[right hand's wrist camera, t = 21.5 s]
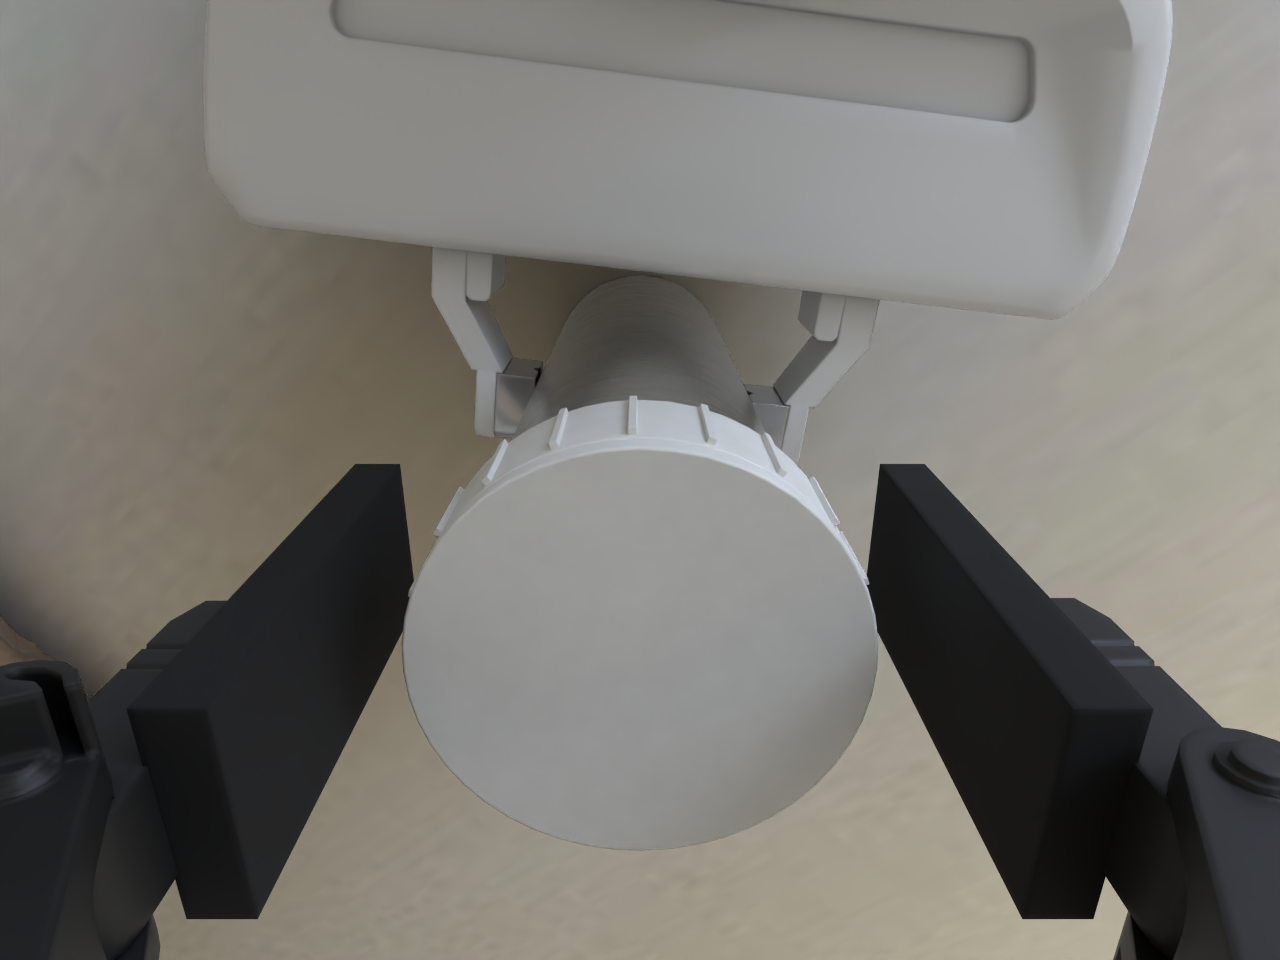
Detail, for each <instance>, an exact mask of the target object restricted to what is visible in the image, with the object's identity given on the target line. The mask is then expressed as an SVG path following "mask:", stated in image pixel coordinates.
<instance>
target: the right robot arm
mask: <svg viewBox="0 0 1280 960" xmlns="http://www.w3.org/2000/svg"><path fill="white" fill-rule="evenodd" d="M867 578H868V581H869V585H866V586H867V588H868V591H869V594H870V598H871V602H872V605H873V609H874V613H875V617H876V626H877V631H878V633H879V635H880V637H881V639H882V641H883V643H884V645H885V647H886V649H887V651H888V653H889V655H890V657H891V659H892V661H893V663H894V665H895V667H896V669H897V671H898V673H899V675H900V677H901V679H902V681H903V683H904V685H905V687H906V689H907V691H908V693H909V695H910V697H911V699H912V701H913V703H914V705H915V707H916V709H917V711H918V713H919V715H920V717H921V719H922V721H923V723H924V725H925V727H926V729H927V731H928V733H929V735H930V737H931V739H932V740H933V742H934V744H935V746H936V748H937V750H938V752H939V754H940V756H941V758H942V760H943V762H944V764H945V766H946V768H947V770H948V772H949V774H950V776H951V778H952V780H953V782H954V784H955V786H956V788H957V790H958V792H959V794H960V796H961V798H962V800H963V802H964V804H965V806H966V808H967V810H968V812H969V814H970V816H971V818H972V820H973V822H974V824H975V826H976V828H977V830H978V832H979V834H980V836H981V838H982V840H983V842H984V844H985V846H986V848H987V850H988V852H989V854H990V856H991V858H992V860H993V861H994V863H995V865H996V867H997V869H998V871H999V873H1000V875H1001V877H1002V879H1003V881H1004V883H1005V885H1006V887H1007V889H1008V891H1009V893H1010V895H1011V897H1012V899H1013V901H1014V903H1015V905H1016V907H1017V909H1018V911H1019V913H1020V915H1021V917H1022V919H1093V918H1094V915H1095V911H1096V908H1097V905H1098V901H1099V898H1100V894H1101V891H1102V887H1103V884H1104V880H1105V877H1107V879H1108V880H1109V882H1110V883H1111V885H1112V887H1113V888H1114V890H1115V891H1116V893H1117V894H1118V896H1119V897H1120V899H1121V900H1122V902H1123V903H1124V905H1125V907H1126V908H1127V910H1128V913H1127V917H1126V920H1125V923H1124V926H1123V930H1122V933H1121V936H1120V939H1119V942H1118V946H1117V949H1116V952H1115V955H1114V959H1113V960H1280V742H1279V741H1277V740H1274V739H1270V738H1267V737H1264V736H1261V735H1258V734H1255V733H1251V732H1248V731H1245V730H1237V729H1230V728H1222V727H1221V726H1220V725H1219V724H1218V723H1217V722H1216V721H1215V720H1214V719H1213V718H1212V717H1211V716H1210V715H1209V714H1208V713H1207V712H1206V711H1205V710H1204V709H1203V708H1202V707H1201V706H1200V705H1199V704H1198V703H1197V702H1196V701H1194V700H1193V699H1192V698H1191V697H1190V696H1189V695H1188V694H1187V693H1186V692H1185V691H1184V690H1183V689H1182V688H1181V687H1180V686H1179V685H1178V684H1177V683H1176V682H1175V681H1174V680H1173V679H1172V678H1171V677H1170V676H1169V675H1168V674H1167V673H1166V672H1165V671H1164V670H1163V669H1162V668H1161V667H1160V666H1155V665H1154V661H1153V660H1152V659H1151V658H1150V657H1149V656H1148V655H1147V654H1146V653H1145V652H1144V651H1143V650H1142V649H1141V648H1140V647H1139V646H1134V641H1133V640H1132V639H1131V638H1130V637H1129V636H1128V635H1127V634H1126V633H1125V632H1124V631H1123V630H1122V629H1121V628H1120V627H1119V626H1118V625H1116V624H1115V623H1114V622H1113V621H1112V620H1111V619H1110V618H1109V617H1107V616H1105V615H1103V614H1102V613H1100V612H1098V611H1096V610H1094V609H1093V608H1091V607H1089V606H1087V605H1086V604H1084V603H1082V602H1080V601H1078V600H1077V599H1075V598H1049V596H1048V595H1047V594H1046V593H1045V592H1044V591H1043V590H1042V589H1041V588H1040V587H1039V586H1038V585H1037V584H1036V583H1035V582H1034V580H1033V579H1032V578H1031V577H1030V576H1029V575H1028V574H1027V573H1026V572H1025V571H1024V570H1023V569H1022V568H1021V567H1020V566H1019V564H1018V563H1017V562H1016V561H1015V560H1014V559H1013V558H1012V557H1011V556H1010V555H1009V554H1008V553H1007V552H1006V551H1005V550H1004V548H1003V547H1002V546H1001V545H1000V544H999V543H998V542H997V541H996V540H995V539H994V538H993V537H992V536H991V535H990V533H989V532H988V531H987V530H986V529H985V528H984V527H983V526H982V525H981V524H980V523H979V522H978V521H977V520H976V519H975V517H974V516H973V515H972V514H971V513H970V512H969V511H968V510H967V509H966V508H965V507H964V506H963V505H962V504H961V503H960V501H959V500H958V499H957V498H956V497H955V496H954V495H953V494H952V493H951V492H950V491H949V490H948V489H947V488H946V487H945V485H944V484H943V483H942V482H941V481H940V480H939V479H938V478H937V477H936V476H935V475H934V474H933V473H932V472H931V470H930V469H929V468H928V467H927V466H926V465H925V464H880V469H879V477H878V486H877V494H876V503H875V511H874V520H873V528H872V537H871V545H870V554H869V562H868V571H867ZM413 582H414V579H413V571H412V562H411V554H410V545H409V537H408V528H407V520H406V511H405V503H404V494H403V486H402V477H401V469H400V464H355V465H354V466H353V467H352V468H351V469H350V470H349V472H348V473H347V474H346V475H345V476H344V477H343V478H342V479H341V480H340V481H339V482H338V483H337V484H336V485H335V487H334V488H333V489H332V490H331V491H330V492H329V493H328V494H327V495H326V496H325V497H324V498H323V499H322V500H321V501H320V503H319V504H318V505H317V506H316V507H315V508H314V509H313V510H312V511H311V512H310V513H309V514H308V515H307V516H306V517H305V519H304V520H303V521H302V522H301V523H300V524H299V525H298V526H297V527H296V528H295V529H294V530H293V531H292V532H291V533H290V535H289V536H288V537H287V538H286V539H285V540H284V541H283V542H282V543H281V544H280V545H279V546H278V547H277V548H276V550H275V551H274V552H273V553H272V554H271V555H270V556H269V557H268V558H267V559H266V560H265V561H264V562H263V563H262V564H261V566H260V567H259V568H258V569H257V570H256V571H255V572H254V573H253V574H252V575H251V576H250V577H249V578H248V579H247V580H246V582H245V583H244V584H243V585H242V586H241V587H240V588H239V589H238V590H237V591H236V592H235V593H234V594H233V595H232V596H231V598H230V599H229V600H228V601H205V602H203V603H202V604H200V605H198V606H196V607H194V608H193V609H191V610H189V611H187V612H186V613H184V614H182V615H180V616H179V617H177V618H175V619H173V620H171V621H170V622H169V623H168V624H167V625H166V626H165V627H164V628H163V629H162V630H161V631H160V632H159V633H158V634H157V635H156V636H155V637H154V638H153V639H152V640H151V641H150V642H149V643H148V644H147V648H146V649H142V650H141V651H140V652H138V653H137V654H136V655H135V656H134V657H133V658H132V659H131V660H130V661H129V662H128V663H127V668H126V669H121V670H120V671H119V672H118V673H117V674H116V675H115V676H114V677H113V678H112V679H111V680H110V681H109V682H108V683H107V684H106V685H105V686H104V687H103V688H102V689H101V690H100V691H99V692H98V693H97V694H96V695H95V696H94V697H93V698H92V699H91V700H90V701H89V702H87V699H86V696H85V693H84V689H83V686H82V683H81V680H80V676H79V673H78V670H76V669H75V668H73V667H72V666H70V665H68V664H67V663H65V662H59V661H50V660H34V661H25V662H16V663H10V664H6V665H3V666H0V960H159V952H160V942H159V936H158V930H157V926H156V923H155V920H154V917H153V912H154V911H155V909H156V908H157V906H158V905H159V903H160V902H161V900H162V899H163V897H164V895H165V894H166V892H167V891H168V889H169V888H170V886H171V885H172V883H173V882H174V880H176V884H177V887H178V891H179V894H180V898H181V901H182V905H183V908H184V911H185V915H186V918H187V919H258V917H259V915H260V913H261V911H262V909H263V907H264V905H265V903H266V901H267V899H268V897H269V895H270V893H271V891H272V889H273V887H274V885H275V883H276V881H277V879H278V877H279V875H280V873H281V871H282V869H283V867H284V865H285V863H286V861H287V860H288V858H289V856H290V854H291V852H292V850H293V848H294V846H295V844H296V842H297V840H298V838H299V836H300V834H301V832H302V830H303V828H304V826H305V824H306V822H307V820H308V818H309V816H310V814H311V812H312V810H313V808H314V806H315V804H316V802H317V800H318V798H319V796H320V794H321V792H322V790H323V788H324V786H325V784H326V782H327V780H328V778H329V776H330V774H331V772H332V770H333V768H334V766H335V764H336V762H337V760H338V758H339V756H340V754H341V752H342V750H343V748H344V746H345V744H346V742H347V740H348V739H349V737H350V735H351V733H352V731H353V729H354V727H355V725H356V723H357V721H358V719H359V717H360V715H361V713H362V711H363V709H364V707H365V705H366V703H367V701H368V699H369V697H370V695H371V693H372V691H373V689H374V687H375V685H376V683H377V681H378V679H379V677H380V675H381V673H382V671H383V669H384V667H385V665H386V663H387V661H388V659H389V657H390V655H391V653H392V651H393V649H394V647H395V645H396V643H397V641H398V639H399V637H400V635H401V633H402V631H403V627H404V617H405V613H406V610H407V606H408V602H409V598H410V597H409V596H408V593H409V589H410V588H411V586H412V584H413Z"/></svg>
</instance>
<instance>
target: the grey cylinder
mask: <svg viewBox="0 0 1280 960" xmlns="http://www.w3.org/2000/svg"><path fill="white" fill-rule="evenodd" d="M629 396H637V400H652V401H669V402H674V403H679V404H684V405H690V406H695V407H700V404H705V405H708V408H709V411H711V412H714V413H717V414H720V415H723V416H726V417H728V418H730V419H732V420H734V421H736V422H738V423H740V424H742V425H744V426H747V427H749V428H750V429H752V430H753V431H755V432H756V433H758V434H760V435H761V436H762V434H763V433H764V432H765V431H764V428H763V426H762V424H761V422H760V420H759V418H758V415H757V413H756V411H755V409H754V407H753V405H752V402H751V400H750V398H749V396H748V394H747V392H746V389H745V387H744V385H743V383H742V381H741V379H740V376H739V374H738V372H737V370H736V368H735V366H734V363H733V361H732V359H731V357H730V355H729V353H728V350H727V348H726V346H725V344H724V342H723V340H722V337H721V335H720V333H719V331H718V329H717V327H716V324H715V322H714V321H713V319H712V317H711V315H710V313H709V312H708V310H707V309H706V308H705V306H704V305H703V304H702V303H701V302H700V301H699V300H698V299H697V298H696V297H695V296H694V295H693V294H692V293H690V292H689V291H688V290H686V289H685V288H683V287H681V286H680V285H678V284H676V283H673V282H671V281H669V280H666V279H662V278H659V277H653V276H640V275H635V276H627V277H622V278H618V279H614V280H612V281H609V282H607V283H604V284H602V285H600V286H599V287H597V288H595V289H594V290H592V291H591V292H590V293H588V294H587V295H586V296H585V297H584V298H583V299H582V300H581V301H580V302H579V303H578V304H577V305H576V306H575V308H574V309H573V310H572V312H571V313H570V315H569V317H568V319H567V320H566V322H565V324H564V327H563V329H562V331H561V333H560V335H559V337H558V340H557V342H556V344H555V346H554V348H553V350H552V353H551V355H550V357H549V359H548V361H547V363H546V366H545V368H544V370H543V372H542V374H541V376H540V379H539V381H538V383H537V385H536V387H535V389H534V392H533V394H532V396H531V398H530V400H529V402H528V405H527V407H526V409H525V411H524V413H523V415H522V418H521V420H520V422H519V424H518V426H517V429H516V431H515V433H514V435H513V437H512V439H511V440H513V439H514V438H516V437H517V436H519V435H521V434H522V433H524V432H525V431H527V430H528V429H530V428H532V427H534V426H536V425H538V424H540V423H542V422H544V421H546V420H548V419H550V418H552V417H554V416H557V415H558V413H559V410H560V409H563V408H567V410H568V412H569V411H572V410H575V409H578V408H581V407H586V406H591V405H596V404H601V403H606V402H613V401H628V400H629Z"/></svg>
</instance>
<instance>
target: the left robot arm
mask: <svg viewBox="0 0 1280 960" xmlns="http://www.w3.org/2000/svg"><path fill="white" fill-rule="evenodd" d="M1172 22H1173V17H1172V3H1171V0H207V11H206V26H205V49H204V96H203V105H204V144H205V158H206V163H207V168H208V171H209V174H210V176H211V178H212V180H213V181H214V182H215V184H216V185H217V186H218V188H219V189H220V190H221V192H222V193H223V195H224V196H225V197H226V199H227V200H228V201H229V203H230V204H231V205H232V207H233V208H234V209H235V211H236V212H237V213H238V214H239V215H240V216H241V218H242V219H243V220H245V221H246V222H247V223H249V224H252V225H255V226H262V227H270V228H278V229H286V230H295V231H303V232H312V233H320V234H329V235H337V236H346V237H354V238H363V239H371V240H380V241H388V242H396V243H405V244H413V245H422V246H430V247H432V283H431V297H432V299H433V300H434V302H435V304H436V306H437V308H438V310H439V312H440V313H441V315H442V317H443V319H444V321H445V323H446V324H447V326H448V328H449V330H450V332H451V334H452V335H453V337H454V339H455V341H456V343H457V345H458V347H459V348H460V350H461V352H462V354H463V356H464V358H465V359H466V361H467V363H468V365H469V367H470V369H471V370H476V390H475V417H474V429H475V434H476V435H481V436H488V437H503V438H512V437H513V435H514V433H515V431H516V429H517V426H518V424H519V422H520V420H521V418H522V415H523V413H524V411H525V409H526V407H527V405H528V402H529V400H530V398H531V396H532V394H533V392H534V389H535V387H536V385H537V383H538V381H539V379H540V376H541V374H542V372H543V362H542V361H535V360H528V359H520V358H513V355H512V353H511V350H510V348H509V346H508V344H507V342H506V340H505V338H504V336H503V333H502V331H501V329H500V327H499V325H498V323H497V321H496V319H495V317H494V314H493V312H492V310H491V308H490V306H489V304H488V302H487V300H488V299H489V298H490V297H491V296H492V295H493V294H495V293H496V292H497V291H498V290H499V289H500V288H501V287H502V286H504V280H505V263H506V255H507V256H515V257H524V258H532V259H541V260H549V261H557V262H566V263H574V264H583V265H591V266H600V267H608V268H617V269H625V270H634V271H642V272H651V273H659V274H668V275H676V276H685V277H693V278H702V279H710V280H718V281H727V282H735V283H744V284H752V285H761V286H769V287H778V288H786V289H795V290H803V292H802V298H801V304H800V310H799V315H798V320H799V321H800V323H801V324H802V325H803V326H804V327H805V328H806V329H807V330H808V331H809V332H810V333H811V334H812V336H811V338H810V339H809V340H808V342H807V343H806V344H805V345H804V347H803V348H802V349H801V350H800V352H799V353H798V354H797V355H796V357H795V358H794V359H793V361H792V362H791V363H790V364H789V366H788V367H787V368H786V369H785V371H784V372H783V373H782V374H781V376H780V377H779V378H778V379H777V381H776V382H775V383H774V385H773V386H774V387H769V386H758V385H747V384H743V385H744V387H745V389H746V392H747V394H748V396H749V398H750V400H751V402H752V405H753V407H754V409H755V411H756V413H757V415H758V418H759V420H760V422H761V424H762V426H763V428H764V431H765V432H766V433H767V434H769V435H770V436H771V438H772V440H773V442H774V444H775V446H776V447H778V448H779V449H780V450H781V451H782V452H783V453H785V454H786V455H787V456H788V457H789V458H790V459H791V460H793V462H794V463H795V464H796V465H797V463H798V461H799V457H800V452H801V447H802V442H803V437H804V432H805V427H806V422H807V417H808V412H809V408H815V407H816V406H817V405H818V404H819V402H820V401H821V400H822V399H823V398H824V397H825V396H826V395H827V394H828V392H829V391H830V390H831V389H832V388H833V387H834V386H835V385H836V384H837V382H838V381H839V380H840V379H841V378H842V377H843V376H844V375H845V373H846V372H847V371H848V370H849V369H850V368H851V367H852V366H853V365H854V363H855V362H856V361H857V360H858V359H859V358H860V357H861V356H862V354H863V353H864V352H865V351H866V350H867V349H868V348H869V344H870V340H871V336H872V331H873V327H874V322H875V318H876V314H877V309H878V305H879V300H888V301H896V302H905V303H913V304H922V305H930V306H939V307H947V308H956V309H964V310H973V311H981V312H990V313H998V314H1007V315H1015V316H1024V317H1033V318H1041V319H1050V320H1052V319H1059V318H1061V317H1063V316H1065V315H1066V314H1067V313H1069V312H1070V311H1071V310H1073V309H1074V308H1075V307H1076V306H1078V305H1079V304H1080V303H1081V302H1082V301H1083V300H1084V299H1086V298H1087V297H1088V296H1089V295H1090V294H1091V293H1092V292H1093V291H1095V290H1096V289H1097V288H1098V287H1099V286H1100V285H1101V284H1102V283H1103V282H1104V281H1105V280H1106V278H1107V277H1108V276H1109V274H1110V272H1111V270H1112V268H1113V266H1114V264H1115V262H1116V260H1117V257H1118V254H1119V251H1120V249H1121V246H1122V243H1123V240H1124V237H1125V234H1126V231H1127V228H1128V225H1129V222H1130V218H1131V215H1132V212H1133V208H1134V205H1135V201H1136V198H1137V195H1138V191H1139V188H1140V184H1141V181H1142V177H1143V173H1144V169H1145V166H1146V162H1147V158H1148V154H1149V150H1150V146H1151V142H1152V138H1153V133H1154V129H1155V125H1156V121H1157V117H1158V112H1159V107H1160V103H1161V98H1162V93H1163V89H1164V84H1165V79H1166V73H1167V68H1168V63H1169V57H1170V49H1171V41H1172Z"/></svg>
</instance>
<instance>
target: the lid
mask: <svg viewBox="0 0 1280 960" xmlns="http://www.w3.org/2000/svg"><path fill="white" fill-rule="evenodd" d="M838 524H840V522H839V520H838V518H837V516H836V515H835V513H834V511H833V509H832V507H831V506H830V504H829V502H828V500H827V498H826V497H825V495H824V493H823V491H822V489H821V488H820V486H819V484H818V482H817V480H816V479H815V478H814V477H811V478H810V479H808V478H807V477H806V475H805V474H804V473H803V472H802V471H801V470H800V469H799V467H798V466H797V465H796V464H795V463H794V462H793V460H791V459H790V458H789V457H788V456H787V455H786V454H785V453H783V452H782V451H781V450H780V449H779V448H778V447H776V446H775V444H774V442H773V440H772V438H771V436H770V435H769V434H767V433H766V432H764V433H763V434H762V436H761V435H760V434H758V433H756V432H755V431H753V430H752V429H750V428H749V427H747V426H744V425H742V424H740V423H738V422H736V421H734V420H732V419H730V418H728V417H726V416H723V415H720V414H717V413H714V412H711V411H709V408H708V405H705V404H700V407H695V406H690V405H684V404H679V403H674V402H669V401H652V400H637V396H629V400H628V401H613V402H606V403H601V404H596V405H591V406H586V407H581V408H578V409H575V410H572V411H569V412H568V410H567V408H563V409H560V410H559V413H558V415H557V416H554V417H552V418H550V419H548V420H546V421H544V422H542V423H540V424H538V425H536V426H534V427H532V428H530V429H528V430H527V431H525V432H524V433H522V434H521V435H519V436H517V437H516V438H514V439H513V440H511V441H510V442H507V441H506V440H505V439H504V440H503V441H502V442H500V443H499V445H498V447H497V449H496V451H495V453H494V455H493V456H492V457H491V458H490V459H489V460H488V461H487V462H486V463H485V464H484V465H483V466H482V467H481V469H480V470H479V471H478V472H477V473H476V474H475V476H474V477H473V478H472V479H471V480H470V481H469V483H468V485H467V486H466V488H465V489H464V488H463V487H461V486H459V488H458V489H457V491H456V493H455V494H454V496H453V498H452V500H451V502H450V503H449V505H448V507H447V509H446V511H445V512H444V514H443V516H442V518H441V520H440V521H439V523H438V525H437V527H436V529H435V530H434V532H433V535H434V536H436V537H437V539H436V541H435V543H434V545H433V547H432V549H431V550H430V552H429V554H428V556H427V558H426V560H425V562H424V563H423V565H422V567H421V569H420V571H419V573H418V575H417V576H416V578H415V580H414V582H413V584H412V586H411V588H410V589H409V593H408V596H409V597H410V598H409V602H408V606H407V610H406V613H405V617H404V627H403V637H402V657H403V672H404V676H405V681H406V686H407V691H408V695H409V699H410V702H411V704H412V707H413V710H414V712H415V715H416V718H417V720H418V723H419V724H420V726H421V728H422V730H423V732H424V734H425V735H426V737H427V739H428V741H429V743H430V745H431V746H432V747H433V749H434V750H435V751H436V753H437V754H438V756H439V757H440V758H441V760H442V761H443V762H444V764H445V765H446V766H447V767H448V768H449V769H450V771H451V772H452V773H453V774H454V775H455V776H456V777H457V778H458V779H459V780H460V781H461V782H462V783H463V784H464V785H465V786H466V787H467V788H469V789H470V790H471V791H472V792H473V793H475V794H476V795H477V796H478V797H480V798H481V799H482V800H483V801H484V802H486V803H487V804H489V805H490V806H492V807H494V808H495V809H497V810H498V811H500V812H501V813H503V814H505V815H506V816H508V817H510V818H512V819H514V820H516V821H518V822H520V823H522V824H524V825H526V826H528V827H530V828H532V829H534V830H537V831H540V832H542V833H545V834H548V835H551V836H553V837H556V838H559V839H563V840H567V841H571V842H575V843H579V844H583V845H587V846H594V847H601V848H608V849H618V850H639V851H642V850H661V849H673V848H679V847H686V846H692V845H698V844H702V843H705V842H709V841H713V840H717V839H721V838H724V837H727V836H730V835H732V834H735V833H738V832H740V831H743V830H746V829H748V828H750V827H752V826H754V825H756V824H758V823H760V822H762V821H764V820H766V819H768V818H770V817H772V816H774V815H776V814H777V813H779V812H780V811H782V810H783V809H785V808H786V807H788V806H790V805H791V804H793V803H794V802H796V801H797V800H798V799H799V798H801V797H802V796H803V795H804V794H805V793H807V792H808V791H809V790H810V789H811V788H813V787H814V786H815V785H816V784H817V783H818V782H819V781H820V780H821V779H822V778H823V777H824V776H825V775H826V774H827V773H828V772H829V771H830V769H831V768H832V767H833V766H834V765H835V764H836V763H837V761H838V760H839V758H840V757H841V756H842V754H843V753H844V752H845V750H846V749H847V747H848V746H849V745H850V743H851V741H852V739H853V738H854V736H855V734H856V732H857V730H858V728H859V726H860V724H861V723H862V721H863V718H864V715H865V712H866V710H867V707H868V704H869V701H870V699H871V696H872V691H873V686H874V681H875V677H876V672H877V659H878V636H877V626H876V617H875V613H874V609H873V605H872V602H871V598H870V594H869V591H868V588H867V586H866V585H869V581H868V578H867V576H866V574H865V572H864V570H863V569H862V567H861V565H860V563H859V561H858V559H857V558H856V556H855V554H854V552H853V550H852V548H851V547H850V545H849V543H848V541H847V539H846V537H845V536H844V534H843V532H842V531H839V530H838V528H837V525H838Z"/></svg>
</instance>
